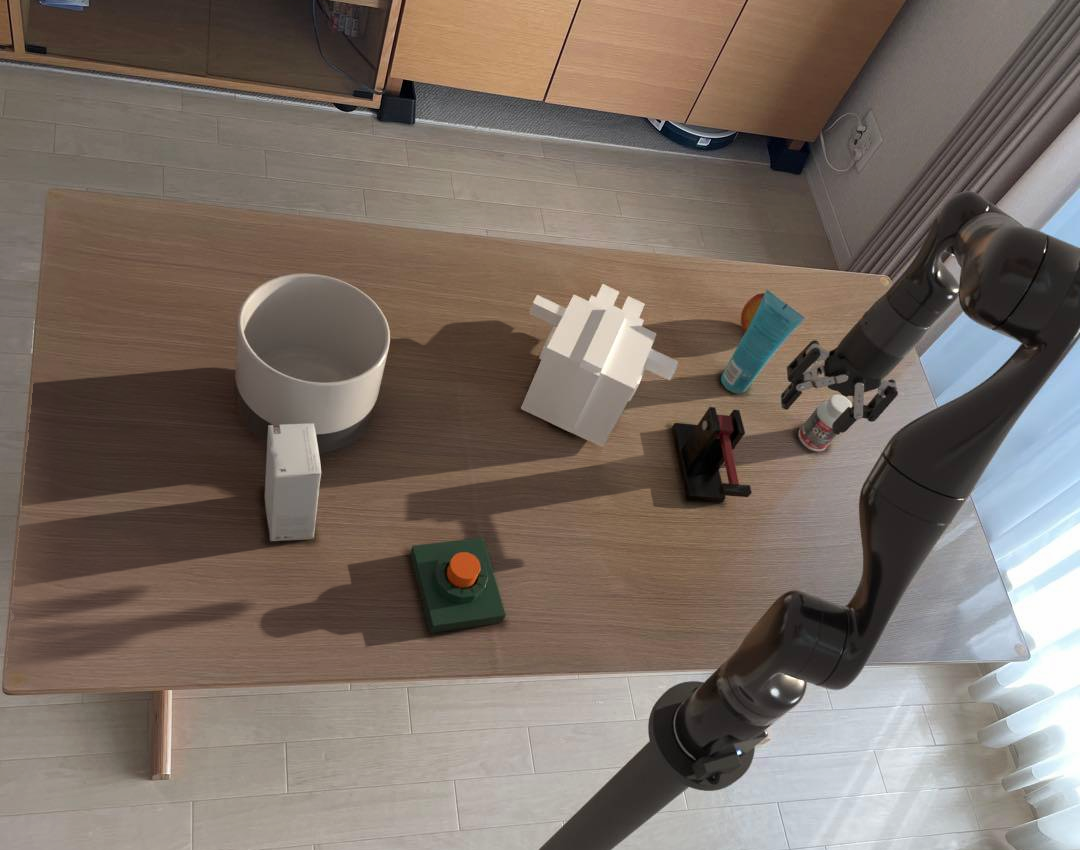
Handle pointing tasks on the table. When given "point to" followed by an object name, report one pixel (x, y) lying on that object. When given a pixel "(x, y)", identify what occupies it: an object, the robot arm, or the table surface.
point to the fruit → (750, 310)
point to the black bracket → (703, 455)
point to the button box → (452, 603)
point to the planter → (310, 358)
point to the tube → (760, 342)
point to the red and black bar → (730, 461)
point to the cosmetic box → (292, 481)
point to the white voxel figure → (592, 363)
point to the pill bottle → (823, 423)
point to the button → (463, 570)
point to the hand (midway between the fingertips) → (809, 417)
